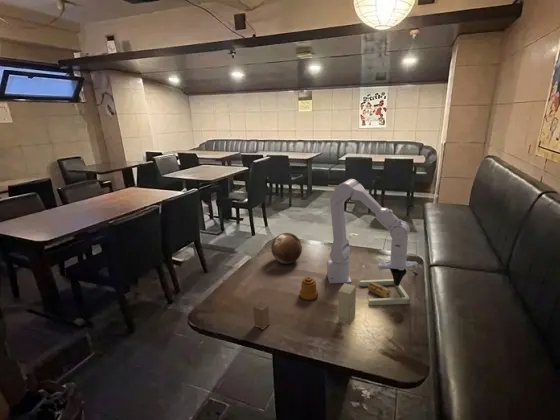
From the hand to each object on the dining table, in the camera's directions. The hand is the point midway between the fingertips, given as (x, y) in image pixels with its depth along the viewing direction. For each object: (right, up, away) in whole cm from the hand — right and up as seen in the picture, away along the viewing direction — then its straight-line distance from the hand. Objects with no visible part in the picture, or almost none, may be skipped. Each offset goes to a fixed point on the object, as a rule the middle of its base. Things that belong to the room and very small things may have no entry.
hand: (396, 284), depth 120 cm
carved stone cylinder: (-6, -4, +2) cm, 8 cm away
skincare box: (-22, -9, -12) cm, 27 cm away
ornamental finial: (-34, -5, +3) cm, 35 cm away
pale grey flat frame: (-5, -4, +1) cm, 6 cm away
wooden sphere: (-42, +3, +31) cm, 53 cm away
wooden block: (-52, -11, -13) cm, 55 cm away
